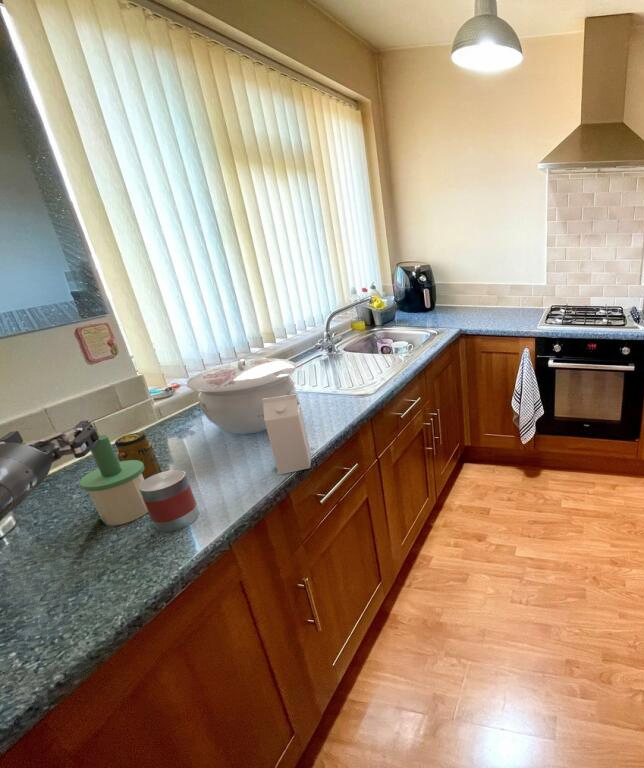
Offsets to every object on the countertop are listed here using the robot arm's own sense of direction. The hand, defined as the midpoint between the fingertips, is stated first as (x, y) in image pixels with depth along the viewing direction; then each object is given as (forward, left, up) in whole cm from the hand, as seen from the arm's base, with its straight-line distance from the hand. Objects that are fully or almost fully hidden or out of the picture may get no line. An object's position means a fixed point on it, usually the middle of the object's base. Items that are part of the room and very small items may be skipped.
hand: (53, 430), depth 68 cm
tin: (+10, +3, -25) cm, 27 cm away
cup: (0, +11, -25) cm, 27 cm away
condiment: (+1, +23, -25) cm, 34 cm away
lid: (0, +11, -16) cm, 19 cm away
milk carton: (+32, +15, -25) cm, 43 cm away
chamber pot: (+22, +46, -25) cm, 57 cm away
